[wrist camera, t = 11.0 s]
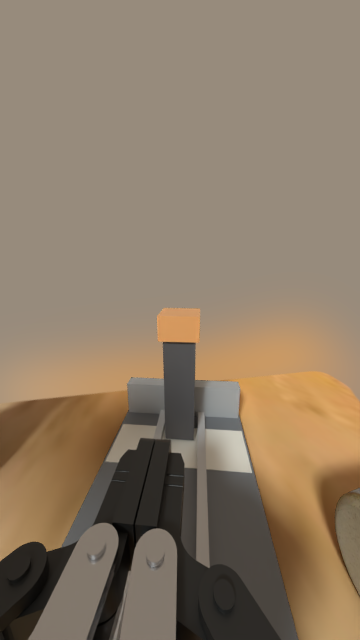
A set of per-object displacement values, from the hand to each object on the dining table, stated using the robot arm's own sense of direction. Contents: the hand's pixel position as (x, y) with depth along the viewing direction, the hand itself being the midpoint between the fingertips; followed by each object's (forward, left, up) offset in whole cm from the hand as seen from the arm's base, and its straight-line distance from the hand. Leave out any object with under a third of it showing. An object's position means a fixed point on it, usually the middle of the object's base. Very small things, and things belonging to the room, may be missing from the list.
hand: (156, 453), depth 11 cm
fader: (+6, +10, -9) cm, 15 cm away
